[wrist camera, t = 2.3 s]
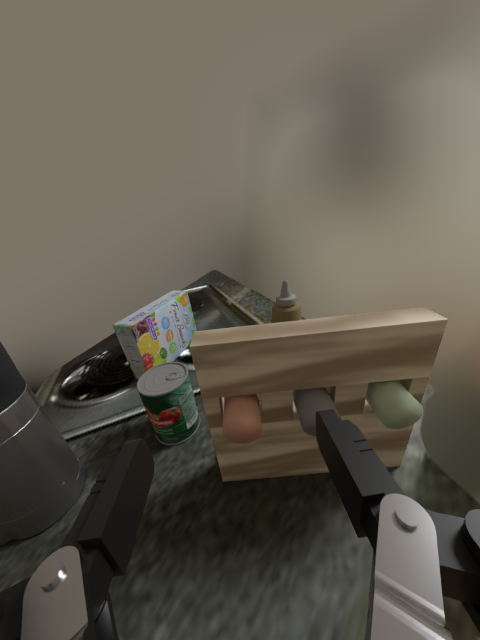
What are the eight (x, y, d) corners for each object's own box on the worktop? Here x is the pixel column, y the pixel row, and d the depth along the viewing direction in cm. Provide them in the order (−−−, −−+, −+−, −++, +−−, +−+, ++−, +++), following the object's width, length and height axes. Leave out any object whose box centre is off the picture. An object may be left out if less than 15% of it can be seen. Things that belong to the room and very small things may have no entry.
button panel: (400, 466, 30) (448, 319, 21) (222, 481, 31) (189, 346, 21) (362, 407, 39) (383, 286, 30) (225, 420, 40) (203, 306, 30)
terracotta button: (263, 441, 24) (260, 414, 22) (225, 445, 24) (220, 418, 22) (259, 411, 27) (256, 386, 26) (226, 414, 27) (222, 389, 26)
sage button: (417, 427, 23) (427, 398, 21) (378, 431, 23) (385, 402, 22) (393, 398, 27) (399, 371, 25) (359, 401, 27) (363, 375, 25)
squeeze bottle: (265, 352, 57) (260, 284, 50) (281, 337, 63) (279, 274, 55) (294, 362, 53) (293, 288, 45) (308, 345, 58) (310, 277, 50)
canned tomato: (151, 450, 36) (129, 399, 32) (160, 411, 43) (143, 366, 39) (200, 440, 37) (185, 389, 32) (201, 404, 44) (189, 358, 39)
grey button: (339, 434, 23) (343, 406, 22) (301, 438, 24) (301, 410, 22) (325, 404, 27) (327, 379, 25) (292, 408, 27) (292, 382, 25)
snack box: (183, 335, 71) (172, 289, 64) (199, 336, 69) (188, 290, 62) (133, 380, 53) (110, 323, 47) (152, 383, 51) (131, 325, 45)
